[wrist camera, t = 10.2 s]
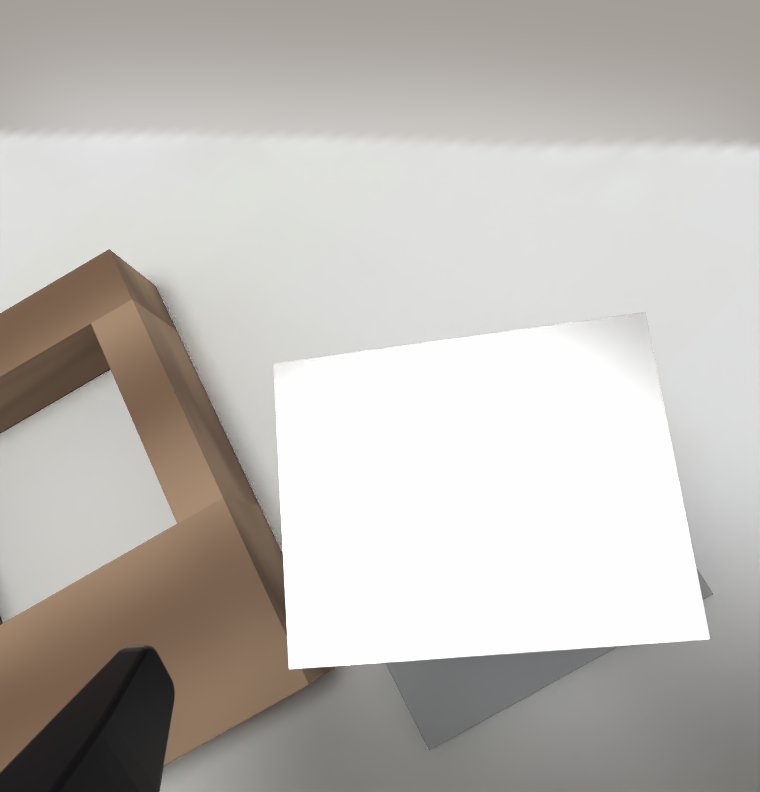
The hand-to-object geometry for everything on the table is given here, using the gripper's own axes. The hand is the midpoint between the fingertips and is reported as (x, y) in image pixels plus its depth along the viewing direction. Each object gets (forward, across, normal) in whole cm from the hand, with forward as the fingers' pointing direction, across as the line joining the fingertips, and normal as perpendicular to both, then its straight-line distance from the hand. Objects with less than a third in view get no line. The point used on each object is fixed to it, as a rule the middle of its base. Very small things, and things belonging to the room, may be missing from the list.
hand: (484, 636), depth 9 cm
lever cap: (+9, 0, +7) cm, 12 cm away
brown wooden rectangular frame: (+10, +13, +6) cm, 18 cm away
